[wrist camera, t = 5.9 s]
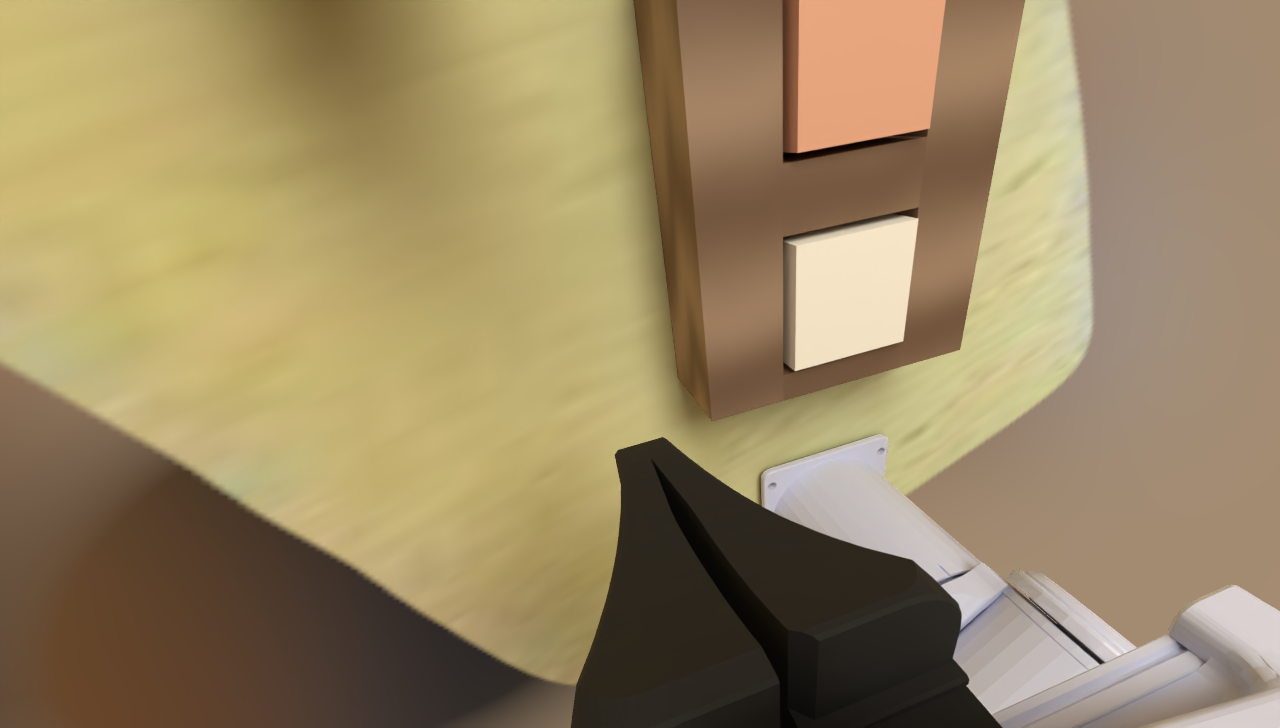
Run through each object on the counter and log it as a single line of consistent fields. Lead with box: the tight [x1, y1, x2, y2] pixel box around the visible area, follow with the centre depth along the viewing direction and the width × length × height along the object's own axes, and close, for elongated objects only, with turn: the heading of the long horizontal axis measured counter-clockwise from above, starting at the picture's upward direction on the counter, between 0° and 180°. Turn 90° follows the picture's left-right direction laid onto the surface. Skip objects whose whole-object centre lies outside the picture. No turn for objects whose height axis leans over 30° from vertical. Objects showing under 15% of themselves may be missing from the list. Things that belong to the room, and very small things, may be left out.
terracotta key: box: [782, 0, 946, 153], centre depth 16 cm, size 5×5×2 cm
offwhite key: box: [783, 213, 918, 371], centre depth 20 cm, size 5×5×2 cm
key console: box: [634, 0, 1025, 421], centre depth 19 cm, size 16×12×4 cm
